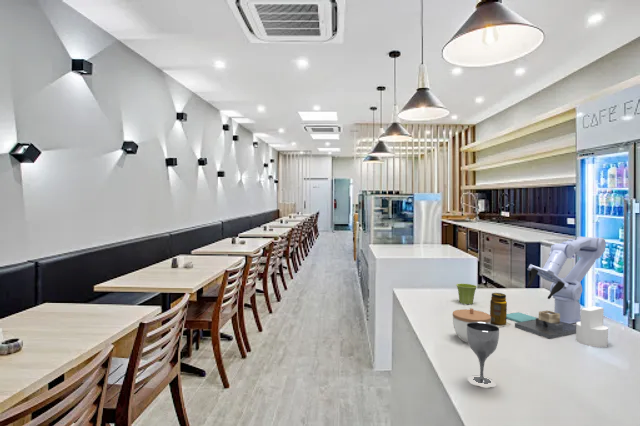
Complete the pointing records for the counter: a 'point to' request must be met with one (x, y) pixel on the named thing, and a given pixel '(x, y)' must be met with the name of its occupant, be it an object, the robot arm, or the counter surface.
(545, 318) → the collar
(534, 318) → the mat
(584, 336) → the cylinder with rectangular tab
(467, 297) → the plant pot
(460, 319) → the lidded bowl
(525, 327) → the brushed metal panel
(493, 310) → the condiment
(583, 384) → the counter surface
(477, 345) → the wine glass
